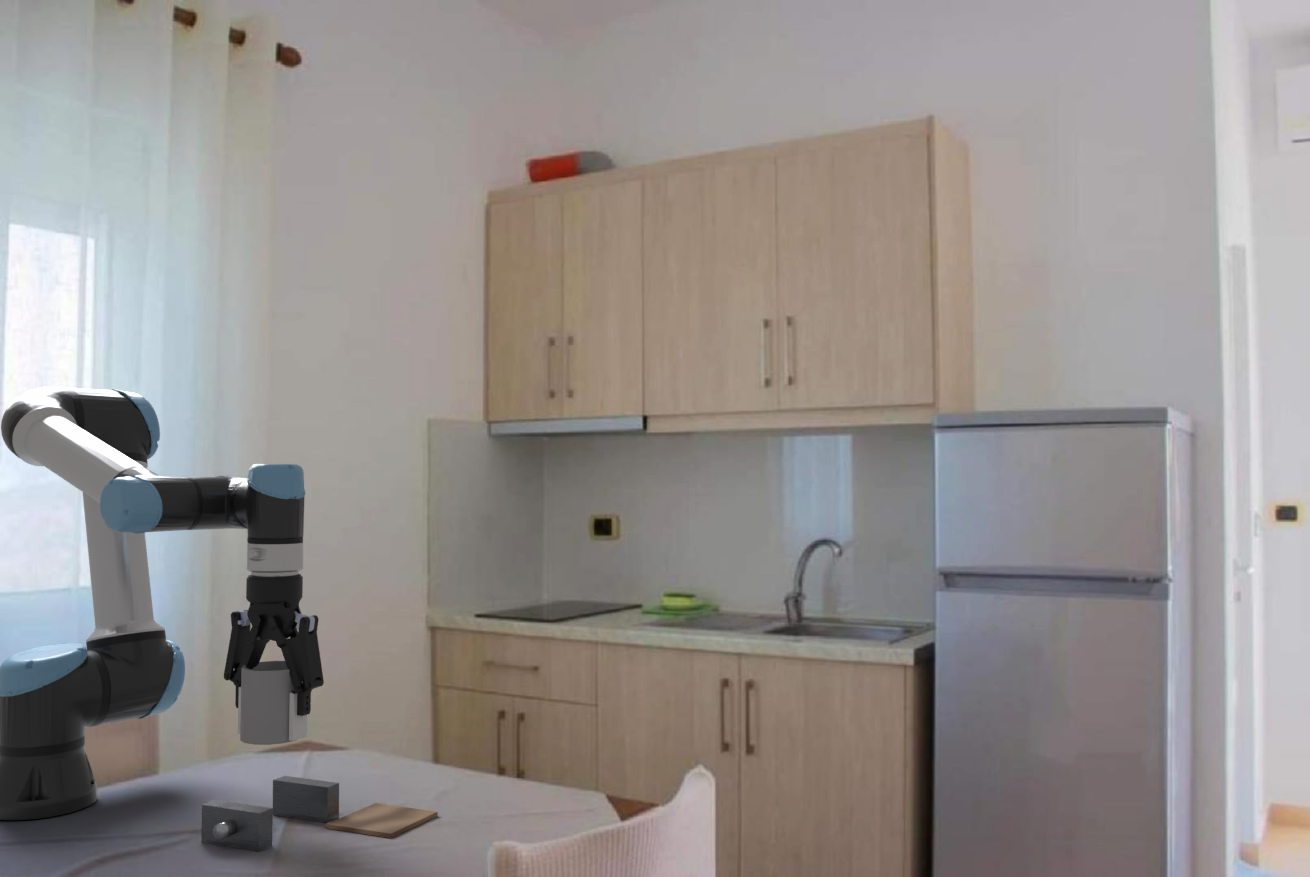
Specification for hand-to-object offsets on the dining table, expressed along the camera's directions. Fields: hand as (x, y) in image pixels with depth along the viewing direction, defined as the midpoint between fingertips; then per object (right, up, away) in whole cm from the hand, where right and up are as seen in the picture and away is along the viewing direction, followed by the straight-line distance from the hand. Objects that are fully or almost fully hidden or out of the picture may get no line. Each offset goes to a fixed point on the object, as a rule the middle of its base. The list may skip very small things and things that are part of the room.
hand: (272, 735), depth 158 cm
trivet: (+15, -13, +3) cm, 20 cm away
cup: (0, -1, 0) cm, 1 cm away
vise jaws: (0, -13, -1) cm, 13 cm away
